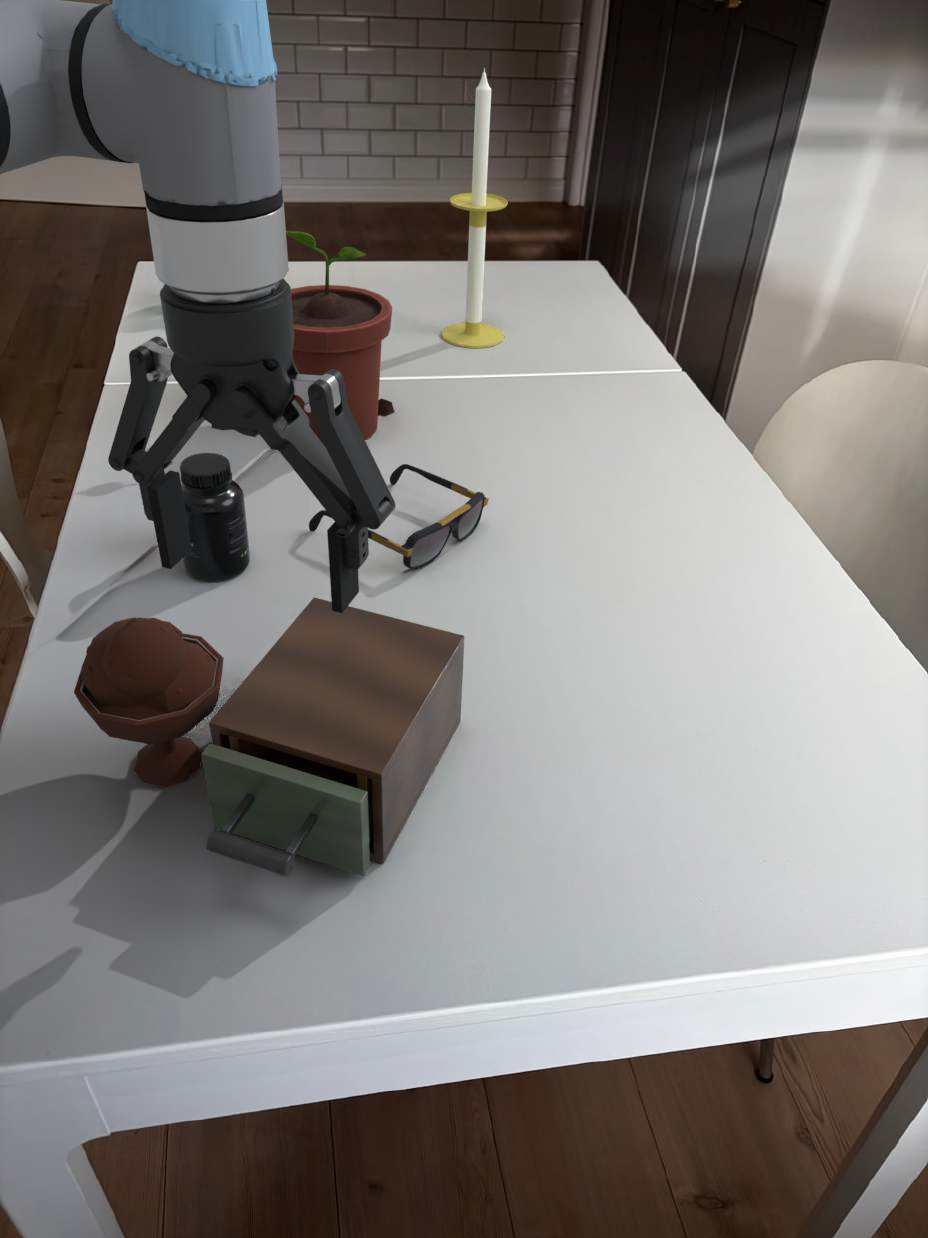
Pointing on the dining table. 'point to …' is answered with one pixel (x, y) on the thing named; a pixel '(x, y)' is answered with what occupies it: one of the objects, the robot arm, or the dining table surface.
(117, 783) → the dining table surface
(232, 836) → the drawer
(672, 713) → the dining table surface
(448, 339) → the candle
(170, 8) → the robot arm
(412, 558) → the sunglasses
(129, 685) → the ice cream bowl
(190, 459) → the supplement bottle
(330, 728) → the cabinet
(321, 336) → the potted plant
